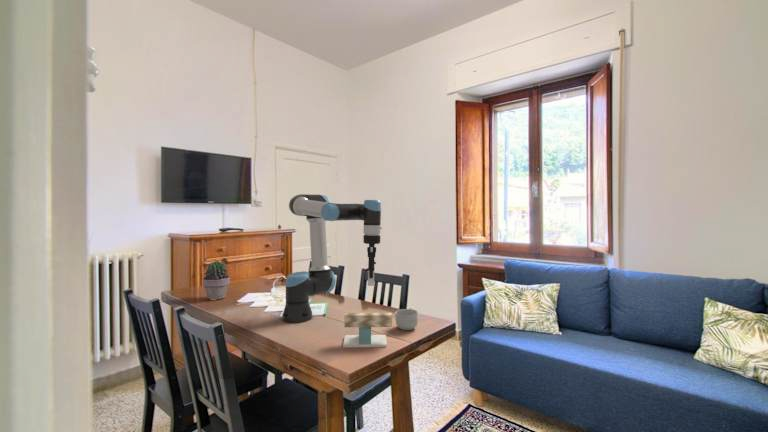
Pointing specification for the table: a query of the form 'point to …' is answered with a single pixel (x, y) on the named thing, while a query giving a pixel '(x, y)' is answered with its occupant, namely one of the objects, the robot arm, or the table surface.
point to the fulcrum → (365, 339)
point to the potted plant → (216, 280)
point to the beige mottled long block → (368, 319)
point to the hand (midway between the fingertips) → (371, 281)
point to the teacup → (406, 319)
